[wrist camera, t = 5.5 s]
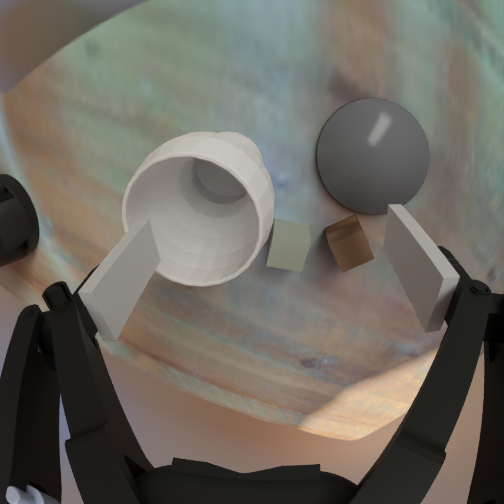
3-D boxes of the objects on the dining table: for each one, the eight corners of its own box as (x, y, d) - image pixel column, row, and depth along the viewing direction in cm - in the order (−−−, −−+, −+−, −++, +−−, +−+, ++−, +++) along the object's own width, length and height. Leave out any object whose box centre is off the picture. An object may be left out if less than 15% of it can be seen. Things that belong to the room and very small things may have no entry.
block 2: (337, 254, 35) (342, 272, 32) (324, 227, 34) (328, 244, 30) (366, 241, 34) (374, 258, 31) (354, 214, 32) (362, 229, 29)
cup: (271, 112, 28) (262, 130, 15) (281, 206, 33) (279, 290, 20) (173, 126, 29) (96, 161, 16) (191, 214, 34) (141, 294, 22)
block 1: (267, 247, 36) (266, 265, 32) (274, 218, 34) (273, 234, 30) (299, 253, 36) (301, 272, 33) (308, 224, 34) (311, 241, 30)
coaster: (317, 212, 33) (318, 215, 32) (313, 96, 26) (314, 96, 26) (420, 211, 31) (423, 214, 30) (428, 103, 24) (431, 104, 24)
